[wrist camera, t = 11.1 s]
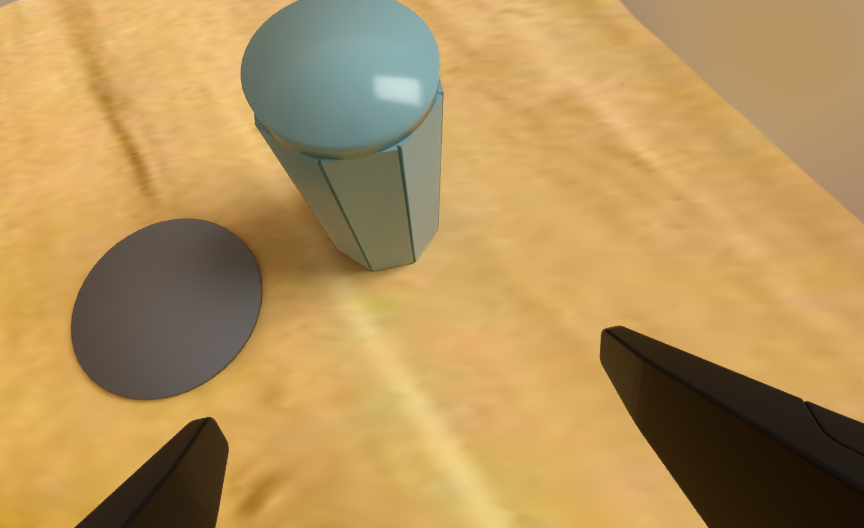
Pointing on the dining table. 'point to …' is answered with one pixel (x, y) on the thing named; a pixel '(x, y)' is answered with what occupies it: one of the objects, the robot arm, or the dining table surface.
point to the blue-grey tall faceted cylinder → (354, 120)
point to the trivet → (166, 309)
